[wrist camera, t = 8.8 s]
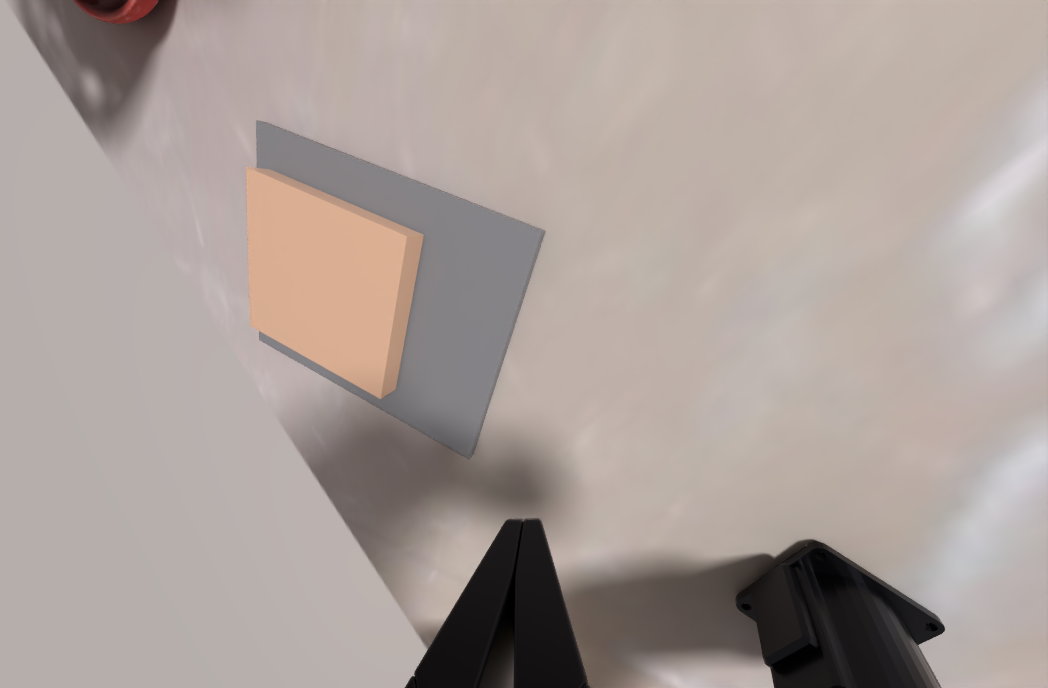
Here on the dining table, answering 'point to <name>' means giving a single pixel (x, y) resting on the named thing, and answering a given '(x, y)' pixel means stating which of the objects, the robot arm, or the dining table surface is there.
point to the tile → (330, 279)
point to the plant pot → (117, 9)
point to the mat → (428, 286)
